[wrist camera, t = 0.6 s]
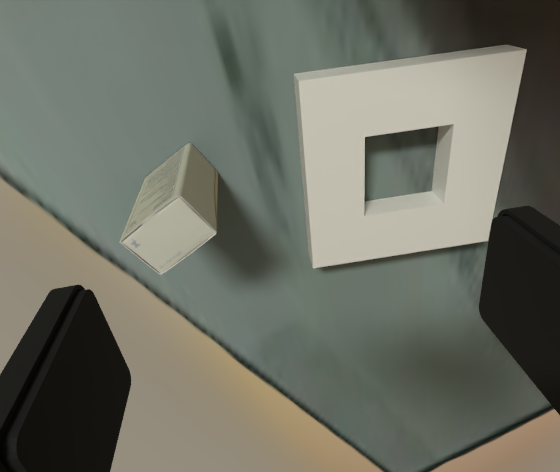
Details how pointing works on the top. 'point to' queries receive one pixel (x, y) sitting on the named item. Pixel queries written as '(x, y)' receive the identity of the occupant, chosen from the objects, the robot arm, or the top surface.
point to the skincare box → (173, 211)
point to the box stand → (397, 118)
